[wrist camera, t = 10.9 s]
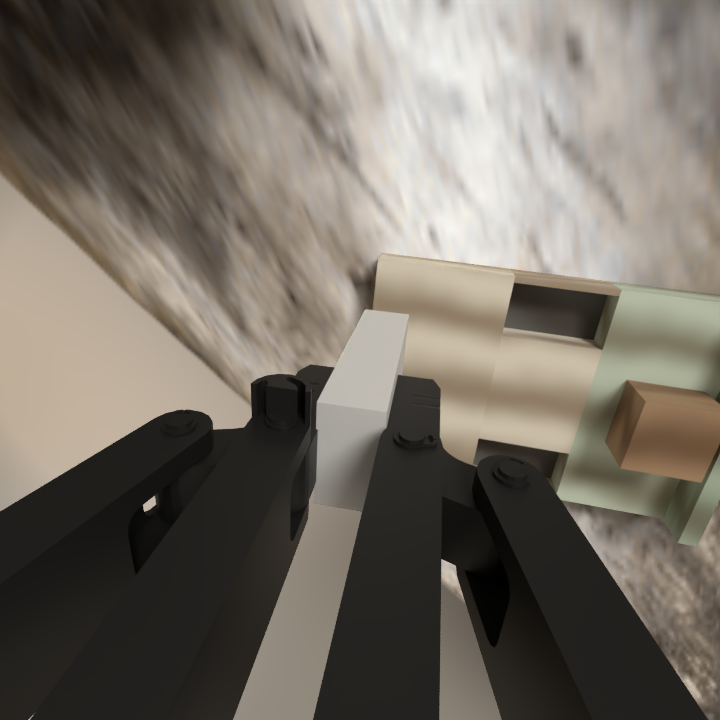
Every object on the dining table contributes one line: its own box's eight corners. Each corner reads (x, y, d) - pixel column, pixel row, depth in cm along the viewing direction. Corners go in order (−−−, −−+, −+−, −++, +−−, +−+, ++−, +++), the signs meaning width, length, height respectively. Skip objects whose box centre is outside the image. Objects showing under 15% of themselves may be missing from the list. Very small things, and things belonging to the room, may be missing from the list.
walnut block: (626, 379, 38) (645, 401, 35) (705, 391, 37) (733, 415, 34) (604, 441, 41) (620, 468, 37) (678, 454, 40) (701, 482, 36)
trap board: (382, 253, 41) (372, 265, 35) (754, 300, 37) (806, 322, 32) (361, 445, 49) (350, 480, 43) (666, 500, 45) (696, 546, 39)
